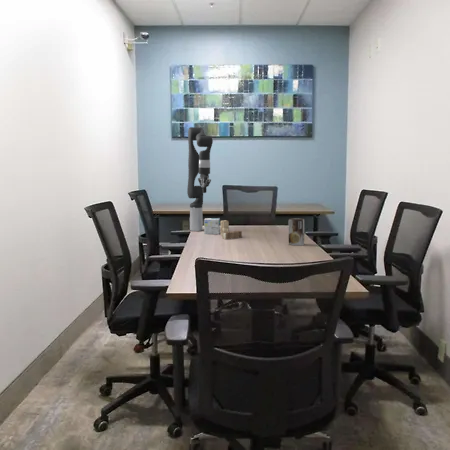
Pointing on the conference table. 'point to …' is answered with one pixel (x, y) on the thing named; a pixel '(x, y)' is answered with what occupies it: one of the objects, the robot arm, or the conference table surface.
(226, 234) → the walnut block
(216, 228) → the light bulb box
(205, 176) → the robot arm
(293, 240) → the coffee box
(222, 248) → the conference table surface
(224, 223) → the maple block
